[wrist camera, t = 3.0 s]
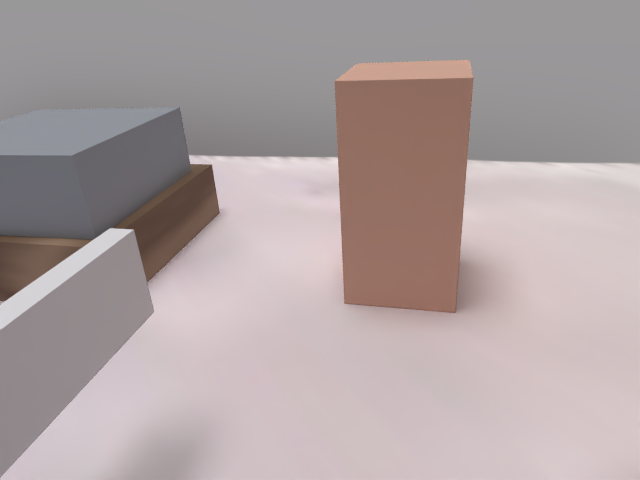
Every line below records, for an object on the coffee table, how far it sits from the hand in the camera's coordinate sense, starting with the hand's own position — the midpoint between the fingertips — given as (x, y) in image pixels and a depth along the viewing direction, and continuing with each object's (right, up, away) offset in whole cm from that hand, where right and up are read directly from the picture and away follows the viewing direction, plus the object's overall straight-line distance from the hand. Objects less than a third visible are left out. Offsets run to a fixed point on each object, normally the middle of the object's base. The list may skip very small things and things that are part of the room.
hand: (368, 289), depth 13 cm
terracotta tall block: (+3, -1, +12) cm, 12 cm away
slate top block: (-15, +4, +16) cm, 22 cm away
